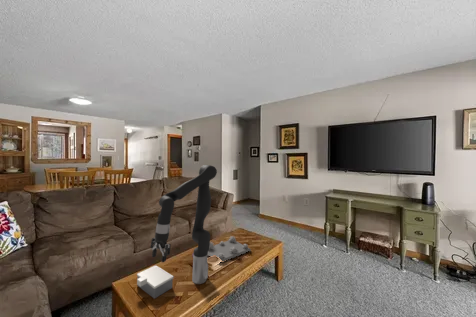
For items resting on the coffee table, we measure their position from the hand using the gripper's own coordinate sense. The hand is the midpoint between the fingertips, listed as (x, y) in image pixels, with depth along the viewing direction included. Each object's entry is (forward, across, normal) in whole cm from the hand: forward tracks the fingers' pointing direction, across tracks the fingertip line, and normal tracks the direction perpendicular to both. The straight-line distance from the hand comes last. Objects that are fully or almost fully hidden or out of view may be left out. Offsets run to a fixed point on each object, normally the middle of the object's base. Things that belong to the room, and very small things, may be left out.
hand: (158, 259), depth 117 cm
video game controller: (+17, +8, -45) cm, 49 cm away
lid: (+16, +7, -3) cm, 17 cm away
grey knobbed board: (+15, -3, -68) cm, 69 cm away
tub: (+20, +6, -5) cm, 22 cm away
